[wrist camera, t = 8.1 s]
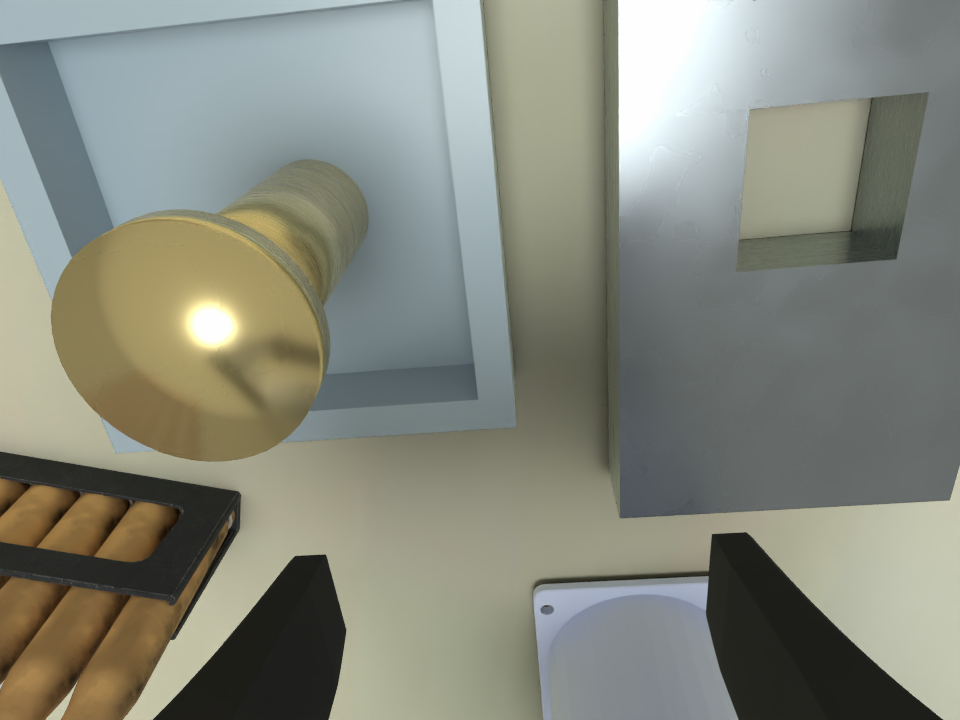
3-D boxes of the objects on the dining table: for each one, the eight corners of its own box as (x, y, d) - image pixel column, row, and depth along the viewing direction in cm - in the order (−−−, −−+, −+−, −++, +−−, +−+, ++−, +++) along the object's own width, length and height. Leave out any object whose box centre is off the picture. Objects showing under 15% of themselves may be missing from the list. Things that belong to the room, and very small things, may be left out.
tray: (514, 376, 22) (516, 427, 19) (161, 401, 23) (115, 453, 20) (478, -53, 16) (474, -65, 14) (14, 2, 17) (-75, 0, 15)
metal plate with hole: (906, 452, 23) (949, 500, 21) (608, 470, 23) (619, 518, 21) (1095, -356, 14) (1210, -428, 11) (599, -287, 14) (617, -341, 12)
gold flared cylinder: (405, 281, 20) (342, 453, 12) (258, 293, 20) (107, 468, 12) (379, 124, 18) (285, 210, 10) (217, 140, 18) (6, 236, 10)
